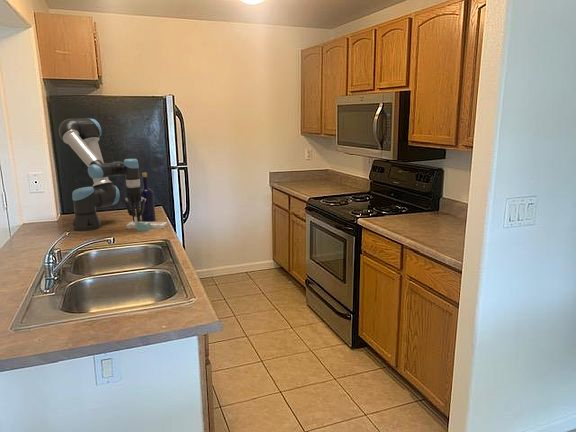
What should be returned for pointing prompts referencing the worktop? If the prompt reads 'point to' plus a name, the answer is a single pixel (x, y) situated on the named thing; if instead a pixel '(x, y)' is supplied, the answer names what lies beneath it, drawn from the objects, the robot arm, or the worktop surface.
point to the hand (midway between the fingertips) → (137, 227)
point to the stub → (143, 226)
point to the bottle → (147, 202)
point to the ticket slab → (152, 224)
